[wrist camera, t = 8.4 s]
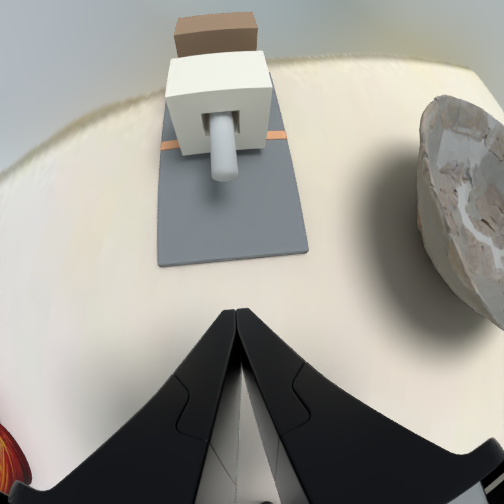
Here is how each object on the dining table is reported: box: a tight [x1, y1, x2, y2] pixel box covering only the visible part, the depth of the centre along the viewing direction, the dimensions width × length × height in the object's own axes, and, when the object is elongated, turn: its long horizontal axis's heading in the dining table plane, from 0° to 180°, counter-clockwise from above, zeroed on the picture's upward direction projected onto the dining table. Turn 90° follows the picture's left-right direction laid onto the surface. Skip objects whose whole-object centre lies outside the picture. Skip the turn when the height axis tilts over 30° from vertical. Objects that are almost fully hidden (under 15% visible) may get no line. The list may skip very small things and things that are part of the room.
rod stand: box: [157, 12, 309, 267], centre depth 20 cm, size 22×12×10 cm, turn 6°
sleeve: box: [165, 51, 273, 156], centre depth 20 cm, size 5×7×7 cm
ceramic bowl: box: [417, 95, 504, 331], centre depth 19 cm, size 22×23×10 cm
